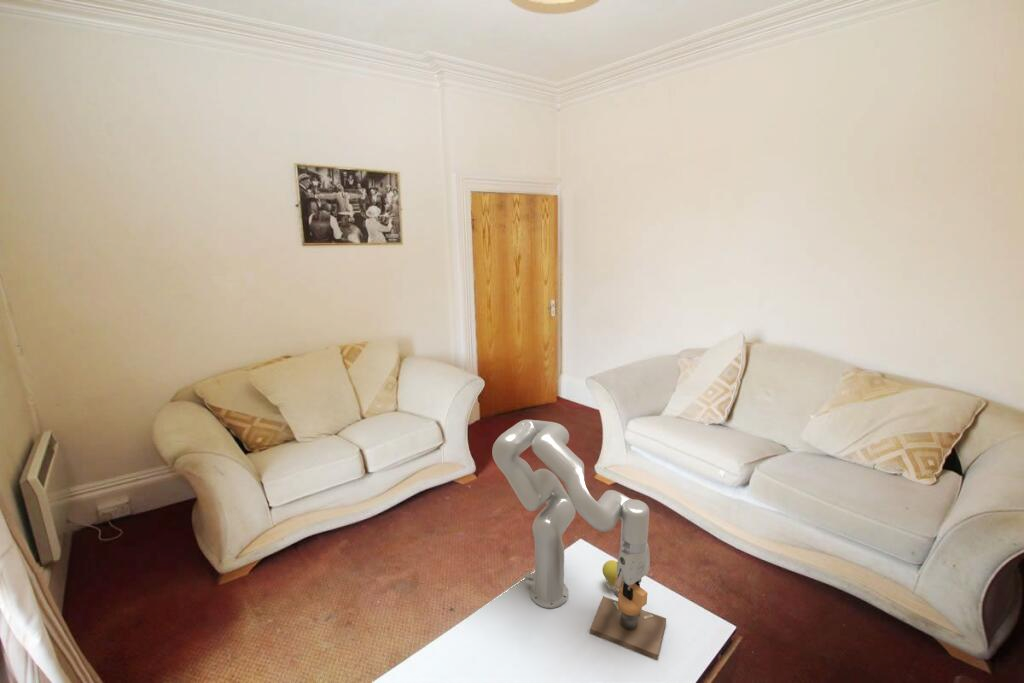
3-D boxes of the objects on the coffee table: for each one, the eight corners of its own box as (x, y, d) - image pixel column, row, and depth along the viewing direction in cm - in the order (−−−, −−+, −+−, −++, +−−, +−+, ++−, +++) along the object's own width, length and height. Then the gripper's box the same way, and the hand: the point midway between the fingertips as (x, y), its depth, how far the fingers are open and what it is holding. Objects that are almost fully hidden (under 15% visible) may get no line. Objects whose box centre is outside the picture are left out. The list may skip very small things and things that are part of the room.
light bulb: (621, 596, 156) (623, 571, 153) (601, 593, 157) (602, 568, 155) (621, 581, 162) (622, 557, 160) (601, 579, 164) (602, 554, 161)
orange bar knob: (650, 611, 140) (652, 588, 138) (635, 623, 136) (637, 600, 134) (622, 589, 148) (623, 568, 146) (607, 600, 144) (608, 578, 142)
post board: (589, 633, 142) (590, 612, 140) (602, 601, 154) (603, 580, 152) (657, 660, 133) (659, 637, 131) (665, 623, 145) (667, 602, 143)
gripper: (626, 561, 128) (623, 616, 133) (661, 537, 138) (657, 589, 142) (605, 547, 134) (603, 600, 139) (640, 524, 144) (637, 575, 148)
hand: (630, 594), depth 140 cm, fingers closed on orange bar knob, 2 cm apart
